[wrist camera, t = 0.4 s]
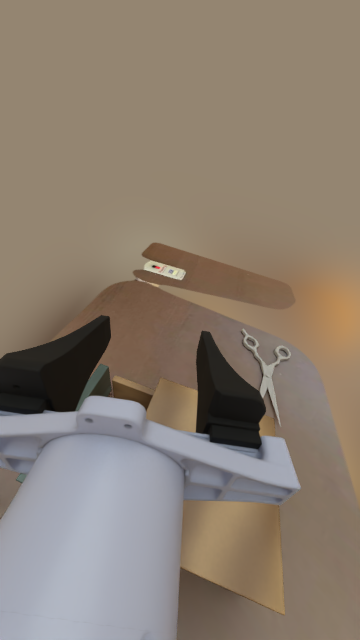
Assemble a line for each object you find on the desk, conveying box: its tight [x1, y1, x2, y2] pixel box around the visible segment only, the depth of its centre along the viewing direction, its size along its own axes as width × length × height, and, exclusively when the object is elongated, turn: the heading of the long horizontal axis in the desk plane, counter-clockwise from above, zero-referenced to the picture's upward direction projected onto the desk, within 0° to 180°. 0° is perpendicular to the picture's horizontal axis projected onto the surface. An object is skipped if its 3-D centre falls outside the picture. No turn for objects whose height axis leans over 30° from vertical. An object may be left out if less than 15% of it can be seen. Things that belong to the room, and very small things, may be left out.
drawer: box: [16, 364, 155, 483], centre depth 24 cm, size 18×13×6 cm
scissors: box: [241, 329, 291, 427], centre depth 39 cm, size 11×1×20 cm
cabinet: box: [146, 378, 285, 615], centre depth 23 cm, size 15×14×8 cm
